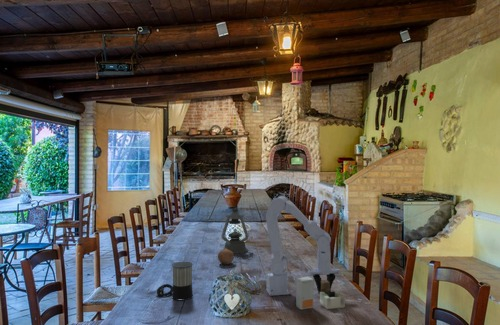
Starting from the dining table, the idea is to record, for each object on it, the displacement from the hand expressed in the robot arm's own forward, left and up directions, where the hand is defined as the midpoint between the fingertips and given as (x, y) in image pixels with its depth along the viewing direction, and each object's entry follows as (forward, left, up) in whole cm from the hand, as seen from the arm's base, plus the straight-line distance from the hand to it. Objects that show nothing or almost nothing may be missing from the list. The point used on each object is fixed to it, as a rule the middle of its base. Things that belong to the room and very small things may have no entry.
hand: (323, 290), depth 171 cm
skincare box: (-12, -10, -3) cm, 16 cm away
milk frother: (-65, +14, -3) cm, 67 cm away
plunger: (0, -6, -2) cm, 6 cm away
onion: (-37, +60, -3) cm, 71 cm away
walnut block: (0, 0, -2) cm, 2 cm away
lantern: (-27, +92, -3) cm, 96 cm away
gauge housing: (0, -9, -3) cm, 9 cm away
